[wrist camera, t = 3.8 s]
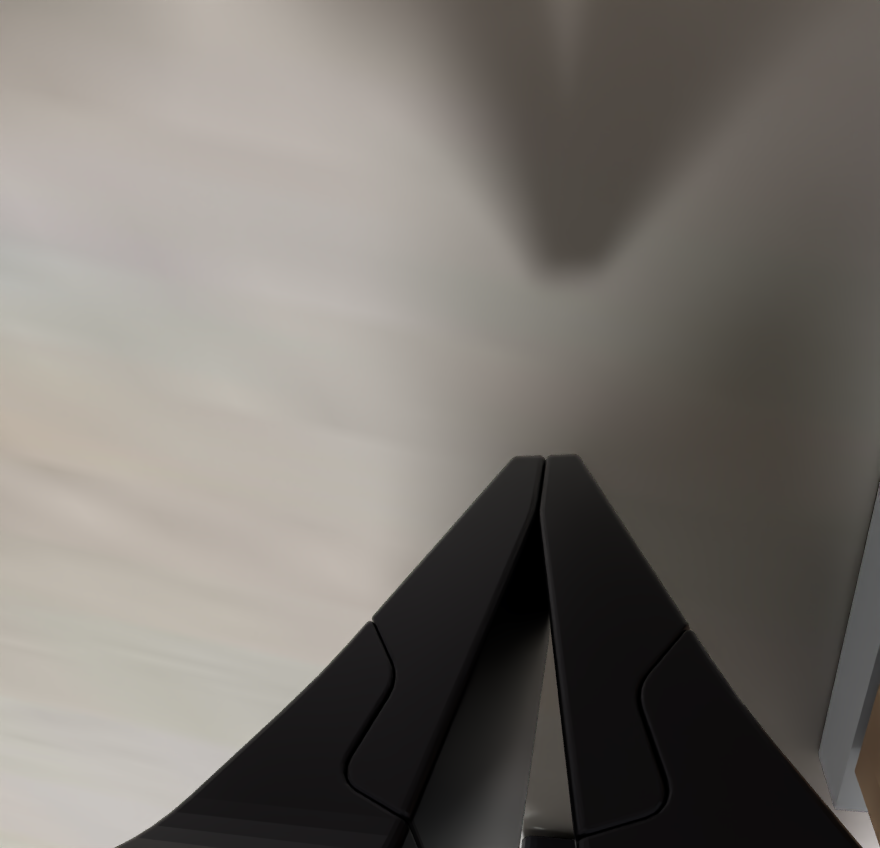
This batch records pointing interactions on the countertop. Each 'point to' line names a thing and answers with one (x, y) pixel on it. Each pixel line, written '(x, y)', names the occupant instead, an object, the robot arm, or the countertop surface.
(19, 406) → the countertop surface
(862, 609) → the boss board
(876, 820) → the panel
